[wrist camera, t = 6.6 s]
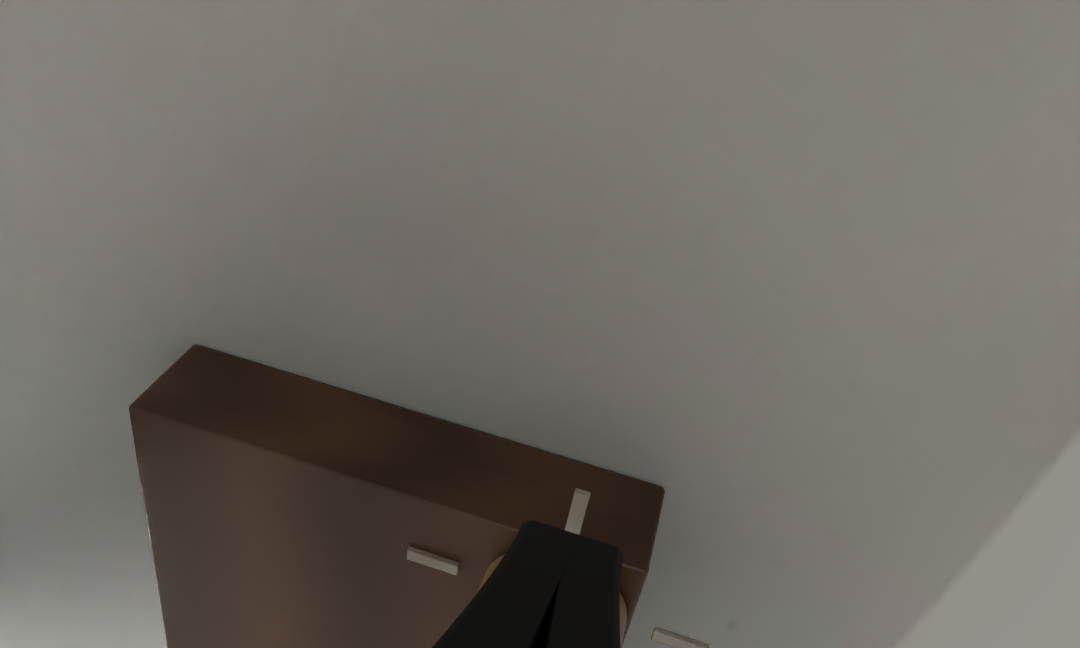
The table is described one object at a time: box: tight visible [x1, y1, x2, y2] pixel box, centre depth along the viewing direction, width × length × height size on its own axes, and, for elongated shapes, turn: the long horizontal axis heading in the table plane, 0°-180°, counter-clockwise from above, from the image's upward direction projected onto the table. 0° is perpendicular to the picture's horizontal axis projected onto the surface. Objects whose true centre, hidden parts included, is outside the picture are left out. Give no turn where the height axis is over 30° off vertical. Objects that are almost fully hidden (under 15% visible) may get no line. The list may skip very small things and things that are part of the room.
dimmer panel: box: [129, 345, 709, 648], centre depth 26 cm, size 16×14×3 cm
